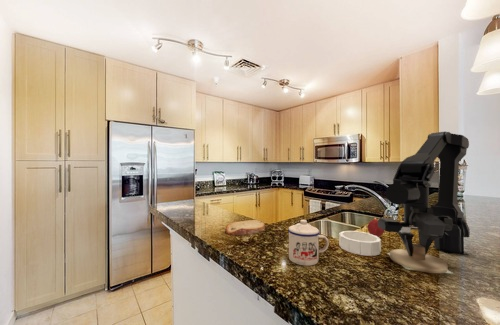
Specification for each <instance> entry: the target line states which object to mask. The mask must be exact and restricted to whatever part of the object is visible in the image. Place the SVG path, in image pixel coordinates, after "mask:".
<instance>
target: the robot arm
mask: <svg viewBox="0 0 500 325" xmlns="http://www.w3.org/2000/svg"><path fill="white" fill-rule="evenodd" d="M469 146H470V141H469V139H468V137H466V136H464V135H462V134H456V133H452V132H450V131H440V132H439V131H438V132H431V133H429V134H428V135H427V139H426V140H425V141H424V143H423V144H422V145H421V146H420V148H419V149H418V150H417V152H416V153H415V154H412V155H410V156H408V157H405V158H404V159H403V160H402V161H401V162H400V164H399V165H398V167H397V170H396V172H395V175H394V176H393V179H392V184H390V185H388V186H387V187H386V190H385V197H386V198H387V200H388V201H389V202H390V203H392V204H394V205H401V208H403V216H402V217H401V221H398V220H396V219H394V218H391V217H390V218H389V217H388V218H387V217H379V219H377V220H378V227H380V228H381V229H383V230H384V232H389V233H397V234H398V236H399V237H400V240H401V241H402V243H403V246H404V247H405V250H407V252H408V254H409V255H410V256H412V254H413V246H412V244H413V238H414V236H415V234H414V233H412V232H411V231H412V230H416V231H417V233H418V244H420V245H421V246H423V247H425V256H426V254H428V252H429V249H430V247H431V245H432V244H433V243H434V245H432V247H433V248H435V249H437V250H438V251H440V252H443V253H445V254H450V255H463V256H464V255H466V256H469V253H466V252H465V241H464V240H465V238H470V237H471V236H470V234H471V233H470V232H471V231H470V230H471V229H470V227H469V225H468V223H467V221H466V219H465V218H464V212H463V211H462V209H461V208H460V206H459V205H458V190H459V188H458V187H459V170H460V169H459V168H460V162H461V161H462V159H463V158H464V157H465V156H466V155H467V151H468V150H467V149H468V148H469ZM437 158H438V160H439V176H438V179H439V180H438V195H437V196H438V197H437V202H436V203H435V204H434V205H431V206H430V199H429V196H430V191H429V190H430V188H431V183H429V182H430V181H431V180H432V177H433V176H434V175H435V173H436V172H435V171H436V168H435V165H434V162H435V161H436V159H437Z"/></svg>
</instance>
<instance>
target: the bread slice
mask: <svg viewBox="0 0 500 325" xmlns="http://www.w3.org/2000/svg"><path fill="white" fill-rule="evenodd" d="M263 229H264V230H265V229H266V225H265V223H264V222H263V221H262V220H261V221H260V220H257V219H248V220H241V221H235V222H233V221H232V222H230V223H228V224H227V226H226V228H225V230H224V232H225V235H226V236H249V235H250V236H251V235H255V234H258V233H259V232H263V231H264V230H263Z"/></svg>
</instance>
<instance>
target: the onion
mask: <svg viewBox="0 0 500 325" xmlns="http://www.w3.org/2000/svg"><path fill="white" fill-rule="evenodd" d="M378 220H379V219H377V217H374V218H373V220H371V221H369V222H368V224H367V226H366V227H367V228H366V229H367V231H368V233H369V234H372V235H375V236H377V237H379V238H380V237H382V236H383V234H384V232H385V230H383V229H381V228H380V227H378Z"/></svg>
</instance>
